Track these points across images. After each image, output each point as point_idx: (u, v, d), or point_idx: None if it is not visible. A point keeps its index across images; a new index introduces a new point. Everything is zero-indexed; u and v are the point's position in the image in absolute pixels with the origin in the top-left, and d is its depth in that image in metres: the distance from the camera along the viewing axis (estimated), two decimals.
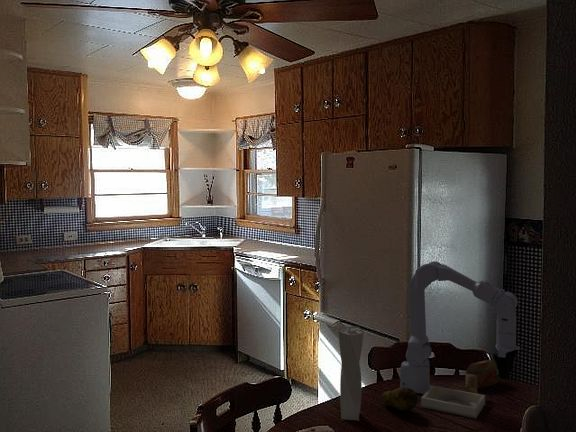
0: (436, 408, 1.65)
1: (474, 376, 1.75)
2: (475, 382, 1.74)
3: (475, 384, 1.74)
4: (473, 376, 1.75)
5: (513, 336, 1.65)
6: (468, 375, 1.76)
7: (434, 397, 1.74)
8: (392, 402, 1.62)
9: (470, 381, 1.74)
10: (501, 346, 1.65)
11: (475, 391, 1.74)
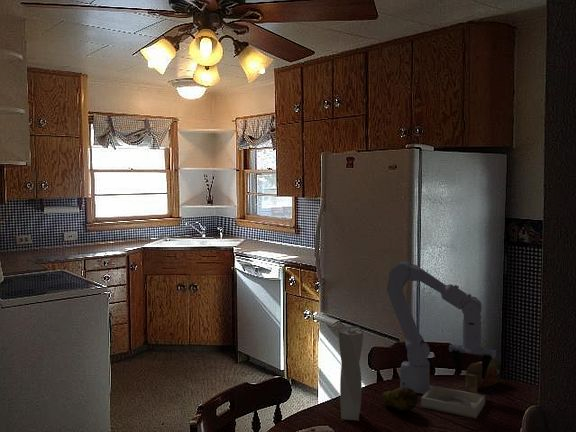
0: (436, 408, 1.65)
1: (474, 376, 1.75)
2: (475, 382, 1.74)
3: (475, 384, 1.74)
4: (473, 376, 1.75)
5: (465, 339, 1.74)
6: (468, 375, 1.76)
7: (434, 397, 1.74)
8: (392, 402, 1.62)
9: (470, 381, 1.74)
10: None
11: (475, 391, 1.74)
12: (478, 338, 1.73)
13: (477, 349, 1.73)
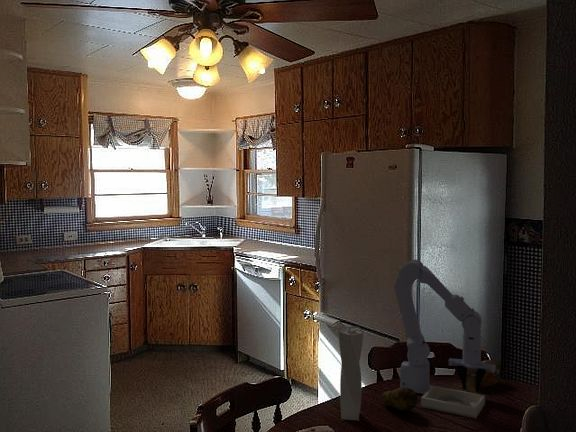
0: (436, 408, 1.65)
1: (474, 376, 1.75)
2: (475, 382, 1.74)
3: (475, 384, 1.74)
4: (473, 376, 1.75)
5: (465, 353, 1.74)
6: (468, 375, 1.76)
7: (434, 397, 1.74)
8: (392, 402, 1.62)
9: (470, 381, 1.74)
10: None
11: (475, 391, 1.74)
12: (478, 353, 1.73)
13: (477, 364, 1.73)
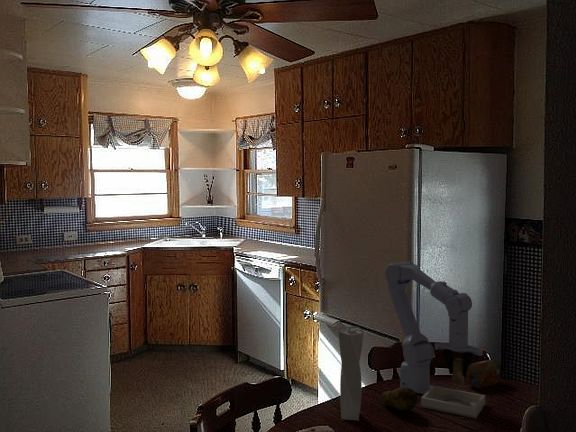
0: (436, 408, 1.65)
1: (461, 360, 1.69)
2: (462, 366, 1.68)
3: (462, 368, 1.68)
4: (460, 360, 1.69)
5: (451, 336, 1.68)
6: (455, 359, 1.70)
7: (434, 397, 1.74)
8: (392, 402, 1.62)
9: (456, 365, 1.68)
10: None
11: (462, 376, 1.68)
12: (465, 335, 1.67)
13: (464, 347, 1.67)
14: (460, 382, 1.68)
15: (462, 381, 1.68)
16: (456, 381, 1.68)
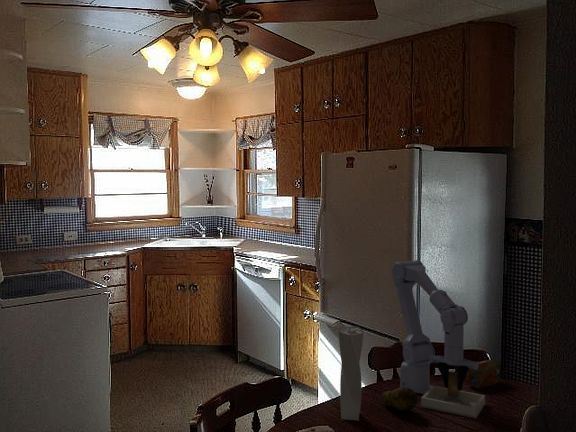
0: (436, 408, 1.65)
1: (456, 374, 1.67)
2: (457, 380, 1.66)
3: (457, 382, 1.67)
4: (455, 374, 1.67)
5: (447, 349, 1.66)
6: (451, 372, 1.69)
7: (434, 397, 1.74)
8: (392, 402, 1.62)
9: (452, 379, 1.67)
10: None
11: (457, 389, 1.67)
12: (460, 349, 1.65)
13: (459, 360, 1.65)
14: (455, 396, 1.66)
15: (457, 395, 1.67)
16: (451, 395, 1.67)
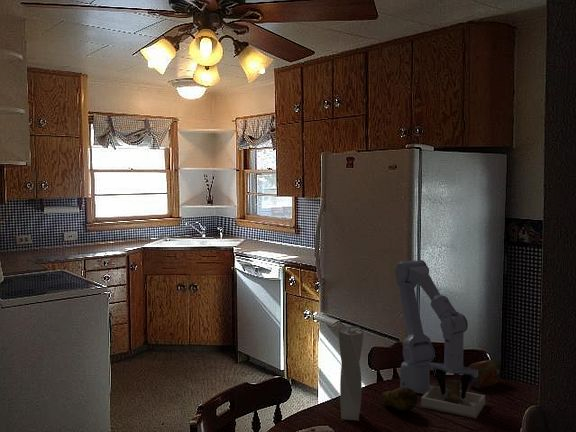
0: (436, 408, 1.65)
1: (456, 382, 1.67)
2: (457, 389, 1.66)
3: (457, 391, 1.67)
4: (455, 382, 1.67)
5: (447, 357, 1.66)
6: (450, 381, 1.69)
7: (434, 397, 1.74)
8: (392, 402, 1.62)
9: (451, 388, 1.67)
10: None
11: (457, 398, 1.67)
12: (460, 357, 1.65)
13: (459, 368, 1.65)
14: None
15: (457, 403, 1.67)
16: None
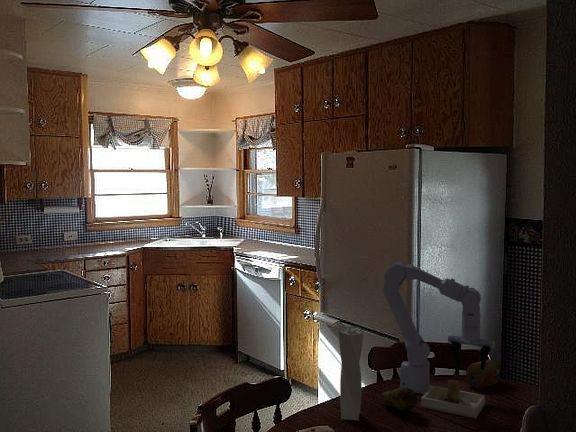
0: (436, 408, 1.65)
1: (456, 382, 1.67)
2: (457, 389, 1.66)
3: (457, 391, 1.67)
4: (455, 382, 1.67)
5: (464, 330, 1.74)
6: (450, 381, 1.69)
7: (434, 397, 1.74)
8: (392, 402, 1.62)
9: (451, 388, 1.67)
10: None
11: (457, 398, 1.67)
12: (477, 329, 1.73)
13: (476, 340, 1.73)
14: None
15: (457, 403, 1.67)
16: None
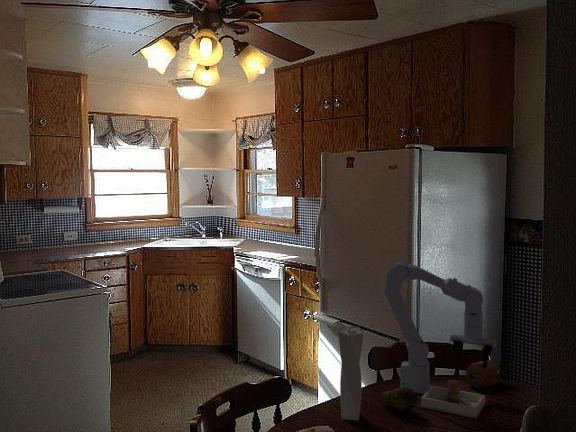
0: (436, 408, 1.65)
1: (456, 382, 1.67)
2: (457, 389, 1.66)
3: (457, 391, 1.67)
4: (455, 382, 1.67)
5: (466, 329, 1.75)
6: (450, 381, 1.69)
7: (434, 397, 1.74)
8: (391, 402, 1.62)
9: (451, 388, 1.67)
10: None
11: (457, 398, 1.67)
12: (479, 328, 1.74)
13: (478, 339, 1.74)
14: None
15: (457, 403, 1.67)
16: None
